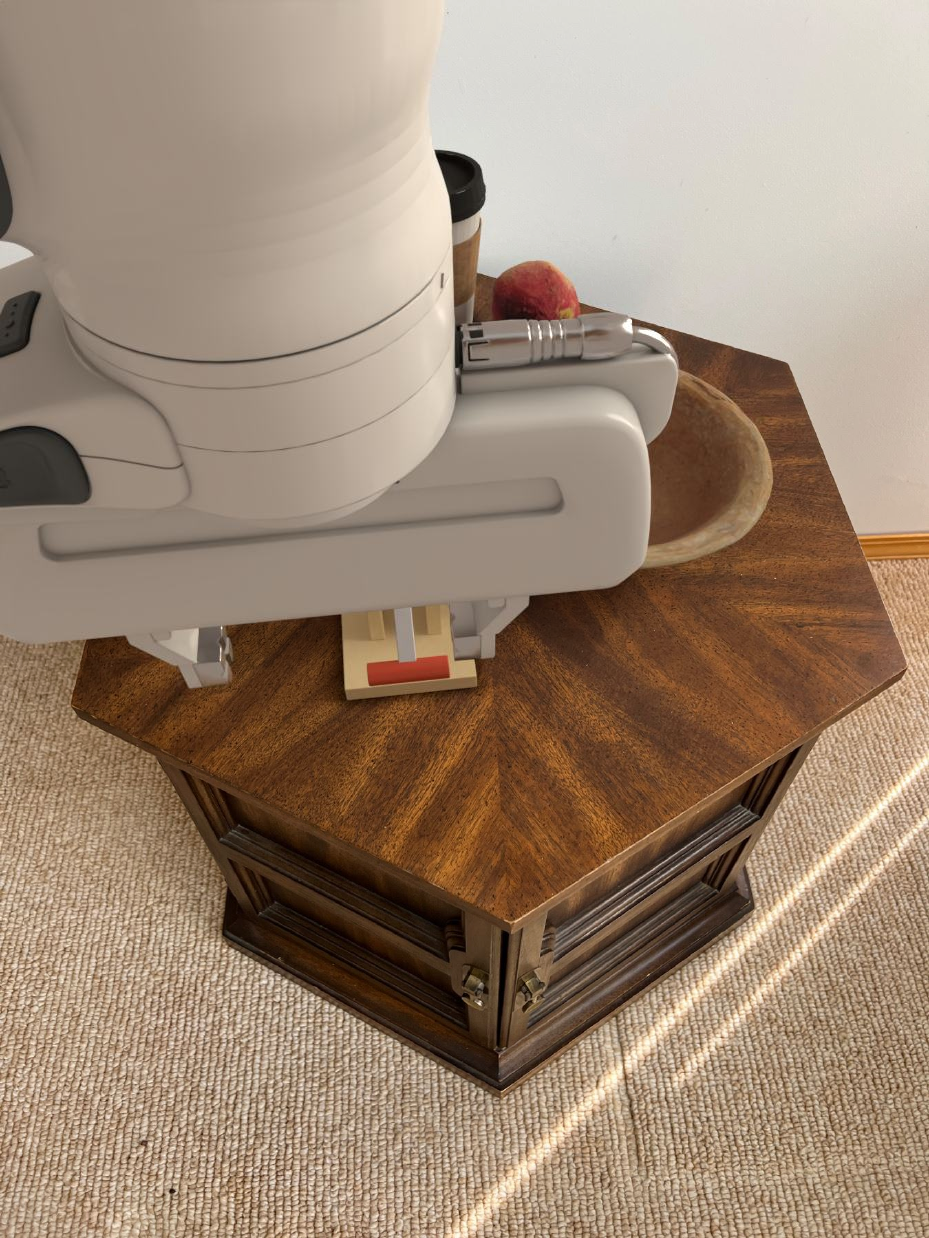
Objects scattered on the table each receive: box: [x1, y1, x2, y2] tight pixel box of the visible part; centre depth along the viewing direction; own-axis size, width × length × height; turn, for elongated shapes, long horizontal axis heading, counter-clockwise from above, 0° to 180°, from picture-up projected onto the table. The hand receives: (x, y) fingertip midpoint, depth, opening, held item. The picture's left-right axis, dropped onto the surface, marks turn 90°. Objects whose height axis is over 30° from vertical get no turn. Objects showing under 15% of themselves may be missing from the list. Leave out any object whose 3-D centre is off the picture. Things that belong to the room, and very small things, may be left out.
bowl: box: [636, 368, 774, 571], centre depth 71 cm, size 24×24×8 cm
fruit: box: [491, 259, 581, 322], centre depth 84 cm, size 8×8×8 cm
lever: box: [367, 607, 450, 686], centre depth 58 cm, size 12×5×2 cm, turn 7°
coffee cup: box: [434, 149, 487, 324], centre depth 83 cm, size 8×8×15 cm
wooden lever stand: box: [340, 604, 478, 701], centre depth 63 cm, size 12×9×14 cm
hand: (343, 657), depth 34 cm, fingers open, 8 cm apart
